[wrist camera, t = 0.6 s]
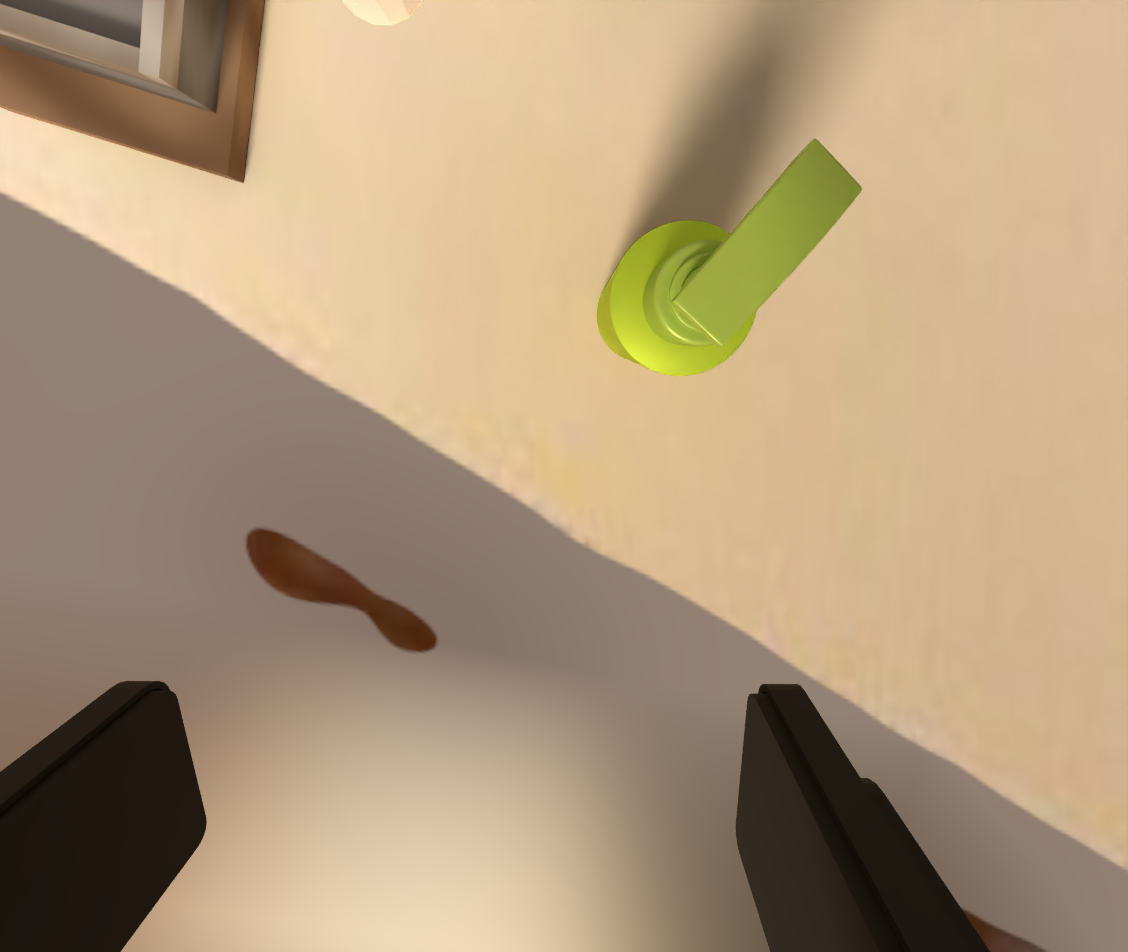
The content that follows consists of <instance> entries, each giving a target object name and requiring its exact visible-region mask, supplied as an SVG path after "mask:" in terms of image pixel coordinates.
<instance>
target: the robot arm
mask: <svg viewBox="0 0 1128 952" xmlns="http://www.w3.org/2000/svg"><path fill="white" fill-rule="evenodd" d="M205 830H206V815H205V811H204V806H203V802H202V798H201V794H200V790H199V786H198V782H197V778H196V773H195V769H194V765H193V761H192V757H191V753H190V748H189V745H188V740H187V736H186V732H185V728H184V724H183V719H182V715H181V711H180V707H179V703H178V699H177V696H176V694H175V693H174V692H172V691H170V689H169V687H168V686H167V685H166V684H165V683H163V682H160V681H125V682H121V683H119V684H116V685H115V686H113V687H112V688H110V689H109V690H108V691H106V692H105V693H104V694H102V695H101V696H100V697H98V698H97V699H96V700H95V701H93V702H92V703H90V704H89V705H88V706H87V707H85V708H84V709H83V710H81V711H80V712H79V713H77V714H76V715H75V716H73V717H72V718H71V719H69V720H68V721H67V722H65V723H64V724H63V725H61V726H60V727H59V728H58V729H56V730H55V731H54V732H52V733H51V734H50V735H48V736H47V737H46V738H44V739H43V740H42V741H40V742H39V743H38V744H36V745H35V746H34V747H32V748H31V749H30V750H29V751H27V752H26V753H25V754H23V755H22V756H21V757H19V758H18V759H17V760H15V761H14V762H13V763H11V764H10V765H9V766H7V767H6V768H5V769H4V770H2V771H1V772H0V952H121V950H122V949H123V947H124V946H125V945H126V943H127V942H128V941H129V939H130V938H131V937H132V935H133V934H134V933H135V931H136V930H137V929H138V927H139V925H140V924H141V923H142V922H143V920H144V919H145V918H146V916H147V915H148V914H149V912H150V911H151V910H152V908H153V907H154V906H155V904H156V903H157V902H158V900H159V899H160V897H161V896H162V895H163V893H164V892H165V891H166V889H167V888H168V887H169V885H170V884H171V883H172V881H173V880H174V879H175V877H176V876H177V874H178V873H179V872H180V870H181V869H182V868H183V866H184V865H185V864H186V862H187V861H188V860H189V858H190V857H191V856H192V854H193V853H194V851H195V850H196V849H197V847H198V846H199V844H200V843H201V840H202V838H203V836H204V833H205ZM736 837H737V844H738V849H739V853H740V856H741V860H742V863H743V866H744V869H745V872H746V876H747V879H748V882H749V885H750V888H751V891H752V895H753V898H754V901H755V904H756V907H757V910H758V913H759V917H760V920H761V923H762V926H763V930H764V933H765V936H766V939H767V942H768V946H769V949H770V952H990V951H989V949H988V948H987V946H986V945H985V943H984V942H983V940H982V939H981V937H980V936H979V934H978V933H977V931H976V930H975V928H974V927H973V925H972V924H971V923H970V921H969V920H968V918H967V917H966V915H965V914H964V912H963V911H962V909H961V908H960V906H959V905H958V903H957V902H956V900H955V899H954V897H953V896H952V894H951V893H950V891H949V890H948V888H947V887H946V885H945V884H944V882H943V881H942V879H941V878H940V876H939V875H938V873H937V872H936V870H935V869H934V867H933V866H932V864H931V863H930V861H929V860H928V858H927V857H926V855H925V854H924V852H923V851H922V849H921V848H920V846H919V845H918V843H917V842H916V840H915V839H914V837H913V836H912V834H911V833H910V831H909V830H908V828H907V827H906V825H905V824H904V822H903V821H902V820H901V818H900V817H899V815H898V814H897V812H896V811H895V809H894V808H893V806H892V805H891V803H890V802H889V800H888V799H887V797H886V796H885V794H884V793H883V792H882V790H881V789H880V788H879V787H878V785H877V784H876V783H874V782H873V781H871V780H870V779H868V778H860V777H859V775H858V774H857V772H856V770H855V769H854V767H853V766H852V764H851V763H850V761H849V759H848V758H847V756H846V755H845V753H844V752H843V750H842V749H841V747H840V745H839V744H838V742H837V741H836V739H835V738H834V736H833V735H832V733H831V731H830V730H829V728H828V727H827V725H826V724H825V722H824V720H823V719H822V717H821V716H820V714H819V713H818V711H817V709H816V708H815V706H814V705H813V703H812V702H811V700H810V699H809V697H808V695H807V694H806V692H805V691H804V689H803V688H802V687H801V686H800V685H798V684H762V685H761V686H760V688H759V692H758V694H749V697H748V701H747V710H746V722H745V732H744V743H743V754H742V764H741V775H740V785H739V796H738V807H737V817H736Z"/></svg>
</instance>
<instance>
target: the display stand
mask: <svg viewBox="0 0 1128 952" xmlns="http://www.w3.org/2000/svg"><path fill="white" fill-rule="evenodd" d="M264 2H265V0H0V107H1V108H4V109H6V110H9V111H12V112H15V113H18V114H21V115H25V116H28V117H31V118H34V119H37V120H41V121H44V122H47V123H50V124H54V125H57V126H60V127H63V128H67V129H70V130H73V131H76V132H80V133H83V134H86V135H89V136H93V137H96V138H99V139H102V140H106V141H109V142H112V143H115V144H119V145H122V146H125V147H128V148H132V149H135V150H138V151H141V152H144V153H148V154H151V155H154V156H157V157H161V158H164V159H167V160H170V161H174V162H177V163H180V164H183V165H187V166H190V167H193V168H196V169H200V170H203V171H206V172H209V173H213V174H216V175H219V176H222V177H226V178H229V179H232V180H235V181H239V182H242V183H243V182H244V173H245V165H246V156H247V148H248V139H249V130H250V122H251V113H252V105H253V96H254V88H255V79H256V70H257V62H258V53H259V45H260V36H261V27H262V19H263V10H264Z"/></svg>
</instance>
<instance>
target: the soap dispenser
mask: <svg viewBox="0 0 1128 952" xmlns="http://www.w3.org/2000/svg"><path fill="white" fill-rule="evenodd" d="M861 190H862V188H861V186H860V185H859V184H858V183H857V182H856V181H855V179H854V178H853V177H852V176H851V175H850V174H849V173H848V172H847V171H846V170H845V169H844V168H843V166H842V165H841V164H840V163H839V162H838V161H837V160H836V159H835V158H834V157H833V156H832V155H831V154H830V153H829V152H828V151H827V149H826V148H825V147H824V146H823V145H822V144H821V143H820V142H819V141H818V140H816V139H813V140H812V141H811V142H810V143H809V144H808V145H807V146H806V147H805V148H804V149H803V150H802V151H801V153H800V154H799V155H798V156H797V157H796V158H795V159H794V160H793V161H792V162H791V164H790V165H789V166H788V167H787V168H786V170H785V171H784V172H783V173H782V174H781V175H780V177H779V178H778V179H777V180H776V181H775V183H774V184H773V185H772V186H771V187H770V188H769V190H768V191H767V192H766V193H765V194H764V195H763V196H762V198H761V199H760V200H759V201H758V202H757V203H756V205H755V206H754V207H753V208H752V209H751V210H750V211H749V213H748V214H747V215H746V216H745V217H744V218H743V220H742V221H741V222H740V223H739V224H738V225H737V226H736V228H735V229H734V230H733V231H732V232H731V233H730V234H729V233H728V232H726V231H725V230H723V229H721V228H719V227H717V226H715V225H712V224H709V223H706V222H702V221H694V220H683V221H675V222H671V223H667V224H664V225H662V226H659V227H657V228H655V229H653V230H651V231H650V232H648V233H646V234H645V235H644V236H642V237H641V238H640V239H639V240H637V241H636V242H635V243H634V244H633V245H632V246H631V248H630V249H629V250H628V251H627V252H626V254H625V255H624V257H623V258H622V260H621V262H620V263H619V265H618V267H617V268H616V270H615V272H614V273H613V275H612V277H611V278H610V280H609V282H608V284H607V285H606V287H605V289H604V290H603V292H602V294H601V297H600V299H599V303H598V308H597V322H598V327H599V331H600V333H601V336H602V338H603V340H604V341H605V343H606V344H607V345H608V347H609V348H610V349H611V350H612V351H614V352H615V353H616V354H618V355H619V356H621V357H623V358H625V359H627V360H630V361H632V362H634V363H637V364H639V365H641V366H643V367H646V368H648V369H650V370H653V371H655V372H658V373H661V374H666V375H672V376H687V375H694V374H698V373H701V372H704V371H707V370H709V369H712V368H714V367H715V366H717V365H719V364H720V363H722V362H723V361H725V360H726V359H727V358H729V357H730V356H731V355H732V354H733V353H734V352H735V351H736V350H737V349H738V348H739V346H740V345H741V344H742V342H743V341H744V339H745V338H746V336H747V335H748V333H749V331H750V329H751V326H752V324H753V321H754V318H755V315H756V311H757V309H758V308H759V307H760V306H761V305H762V304H763V303H764V302H765V301H766V300H767V299H768V298H769V297H770V296H771V295H772V293H773V292H774V291H775V290H776V289H777V288H778V287H779V286H780V285H781V284H782V283H783V282H784V281H785V280H786V278H787V277H788V276H789V275H790V274H791V273H792V272H793V271H794V270H795V269H796V268H797V266H798V265H799V264H800V263H801V262H802V261H803V260H804V259H805V258H806V256H807V255H808V254H809V253H810V252H811V251H812V250H813V249H814V247H815V246H816V245H817V244H818V243H819V242H820V240H821V239H822V238H823V237H824V236H825V235H826V233H827V232H828V231H829V230H830V229H831V228H832V226H833V225H834V224H835V223H836V222H837V220H838V219H839V218H840V217H841V215H842V214H843V213H844V212H845V211H846V209H847V208H848V207H849V206H850V205H851V203H852V202H853V201H854V200H855V198H856V197H857V196H858V194H859V193H860V192H861Z"/></svg>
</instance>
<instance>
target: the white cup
mask: <svg viewBox="0 0 1128 952" xmlns="http://www.w3.org/2000/svg"><path fill="white" fill-rule="evenodd" d="M342 1H343V2H344V3H345V4H346V6H347V7H348V8H349V9H350V10H351V11H352V12H353V13H354V14H355V15H356V16H358V17H360V18H362V19H364V20H366V21H367V22H369V23H371V24H375V25H394V24H396V23H398V22H400V21H403V20H405V19H407V18H409V17H410V16H411V15H412V14H413V13H414V12H415V11H416V9H417V8H418V7H419V6H420V5H421V3H422V2H423V1H424V0H342Z"/></svg>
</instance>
